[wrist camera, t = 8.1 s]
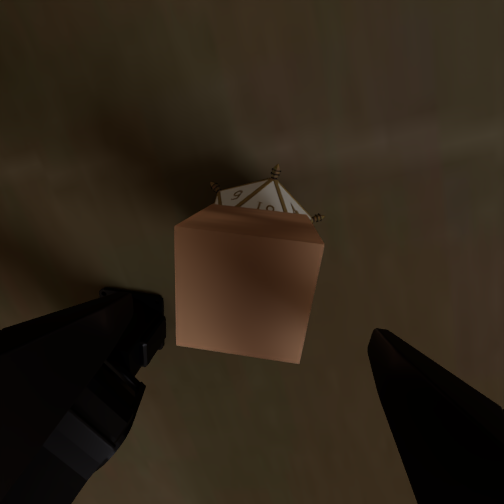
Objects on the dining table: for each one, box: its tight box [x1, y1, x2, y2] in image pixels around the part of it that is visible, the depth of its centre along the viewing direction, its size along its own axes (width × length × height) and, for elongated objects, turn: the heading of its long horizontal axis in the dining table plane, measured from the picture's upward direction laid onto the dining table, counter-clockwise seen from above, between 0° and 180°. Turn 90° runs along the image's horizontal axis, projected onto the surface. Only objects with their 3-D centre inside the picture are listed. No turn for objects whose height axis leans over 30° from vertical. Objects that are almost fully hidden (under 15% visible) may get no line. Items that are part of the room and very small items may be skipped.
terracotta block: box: [174, 204, 325, 364], centre depth 11 cm, size 5×5×5 cm
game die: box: [210, 163, 325, 224], centre depth 17 cm, size 9×8×10 cm
